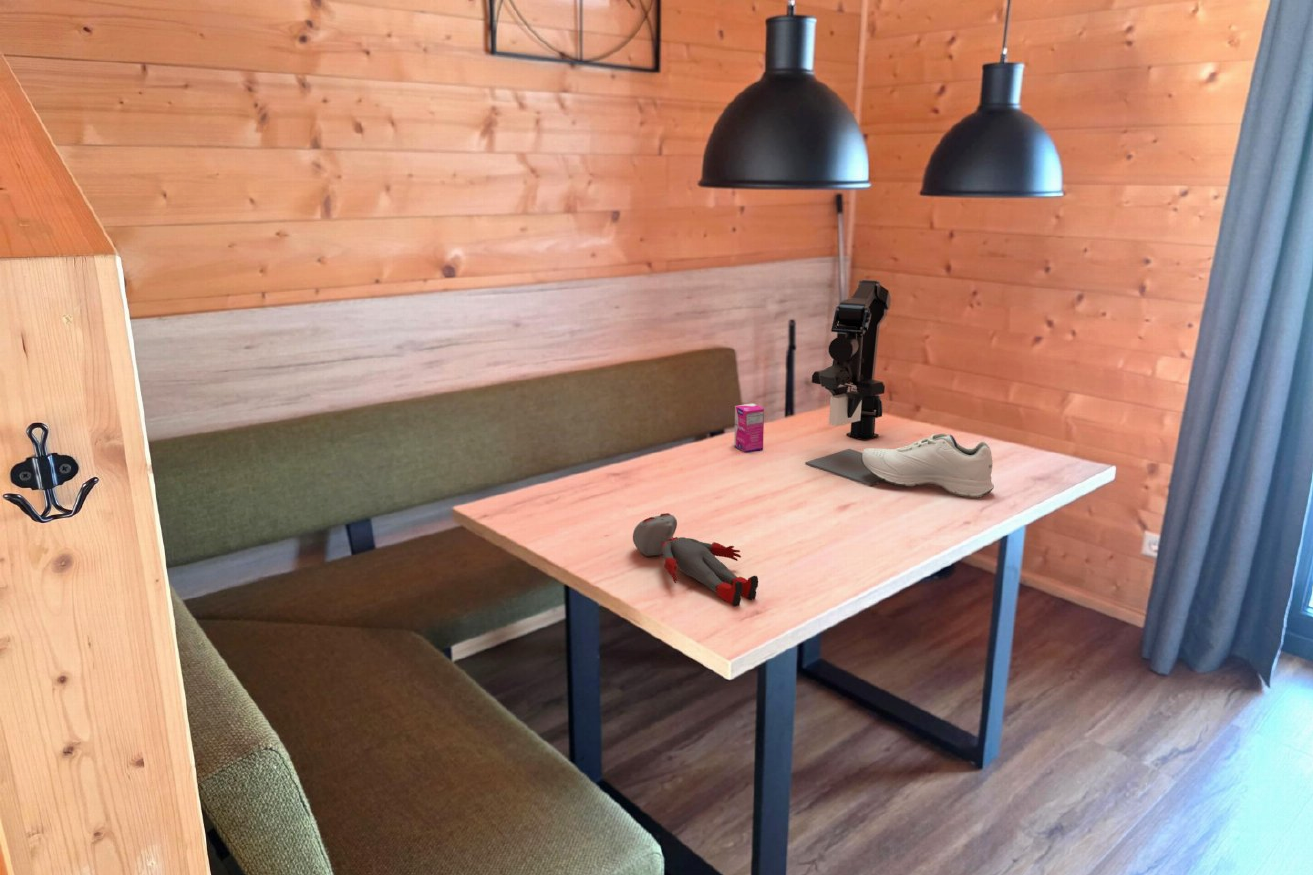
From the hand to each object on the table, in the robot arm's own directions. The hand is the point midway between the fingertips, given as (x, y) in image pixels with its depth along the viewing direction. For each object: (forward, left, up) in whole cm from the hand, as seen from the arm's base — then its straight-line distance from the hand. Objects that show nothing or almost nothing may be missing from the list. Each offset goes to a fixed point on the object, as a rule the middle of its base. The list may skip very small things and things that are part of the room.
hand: (845, 416), depth 227 cm
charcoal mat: (0, +5, -12) cm, 13 cm away
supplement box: (+10, -23, -12) cm, 28 cm away
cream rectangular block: (0, 0, -2) cm, 2 cm away
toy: (+71, +23, -13) cm, 76 cm away
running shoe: (-1, +23, -12) cm, 26 cm away
